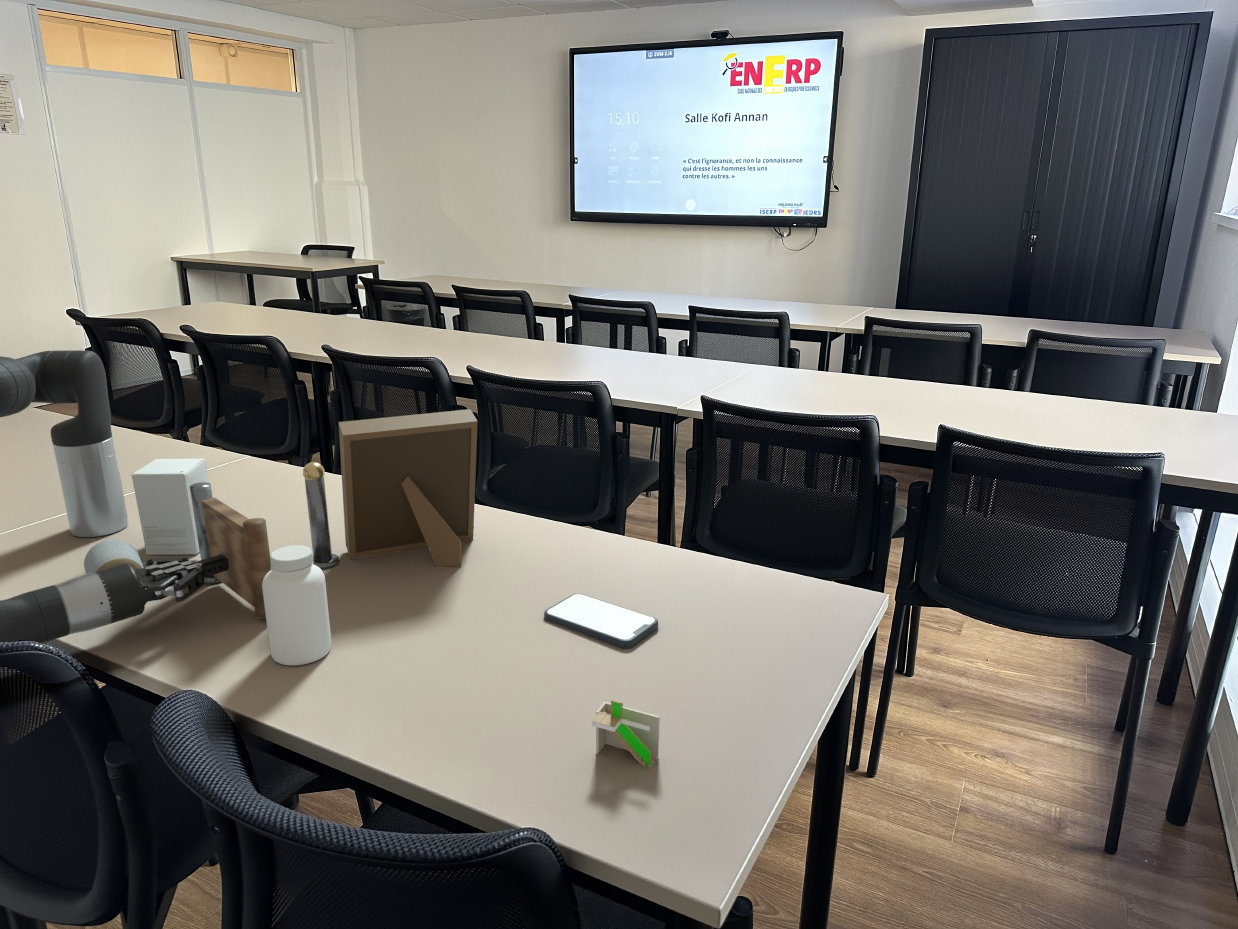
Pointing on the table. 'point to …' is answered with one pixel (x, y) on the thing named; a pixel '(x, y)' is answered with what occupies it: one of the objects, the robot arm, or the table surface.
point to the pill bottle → (296, 607)
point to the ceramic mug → (111, 556)
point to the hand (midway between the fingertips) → (226, 561)
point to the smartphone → (602, 620)
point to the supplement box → (168, 504)
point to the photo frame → (409, 484)
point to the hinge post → (202, 522)
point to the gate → (239, 550)
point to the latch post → (318, 516)
